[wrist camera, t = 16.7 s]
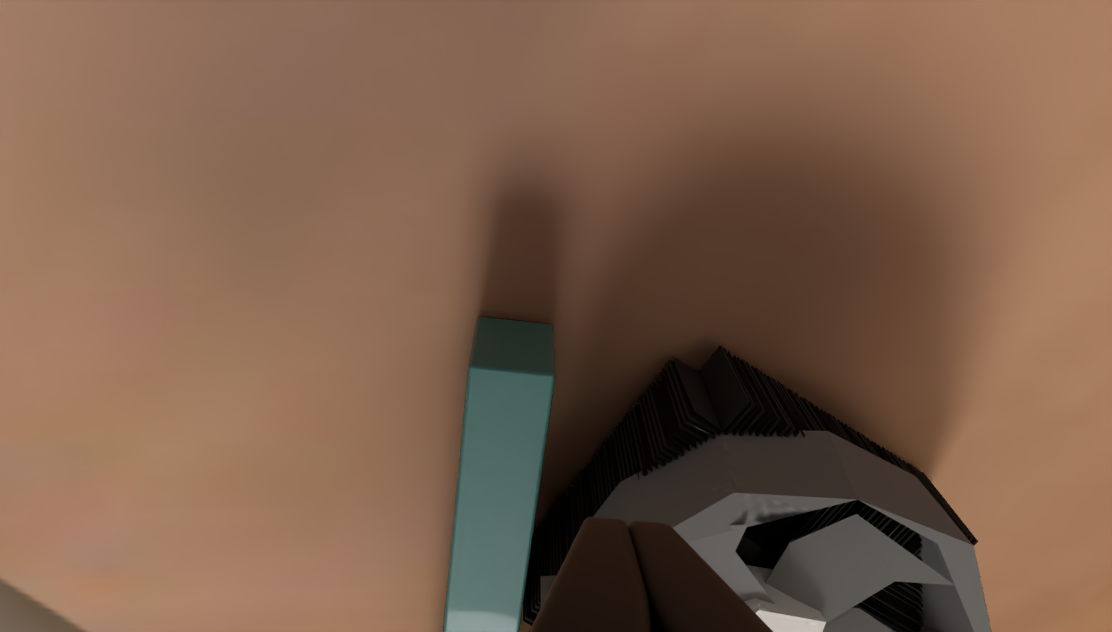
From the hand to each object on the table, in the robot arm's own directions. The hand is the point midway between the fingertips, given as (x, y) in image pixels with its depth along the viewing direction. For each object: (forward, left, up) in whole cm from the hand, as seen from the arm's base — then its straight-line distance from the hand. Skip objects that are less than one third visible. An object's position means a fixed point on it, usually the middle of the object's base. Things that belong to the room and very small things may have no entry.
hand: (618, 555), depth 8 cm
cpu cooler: (+9, +6, -13) cm, 17 cm away
